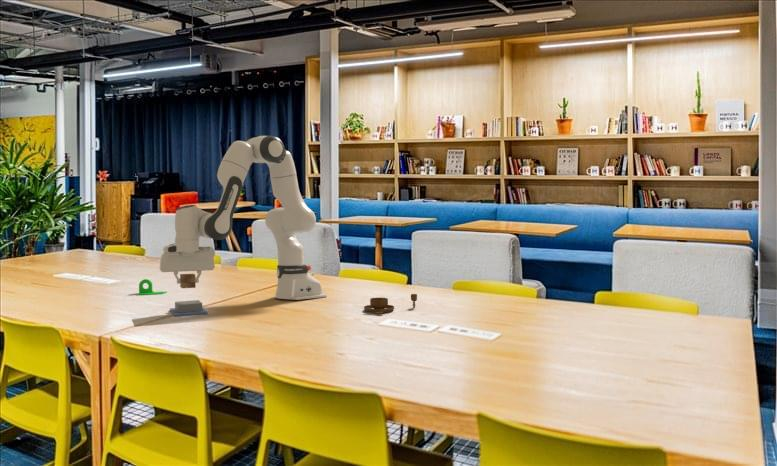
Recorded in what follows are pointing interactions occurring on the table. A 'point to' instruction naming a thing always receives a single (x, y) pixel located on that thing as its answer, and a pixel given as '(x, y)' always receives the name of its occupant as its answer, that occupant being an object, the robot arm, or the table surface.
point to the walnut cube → (187, 281)
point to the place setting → (383, 305)
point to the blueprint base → (188, 308)
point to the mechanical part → (149, 290)
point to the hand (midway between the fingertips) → (187, 282)
